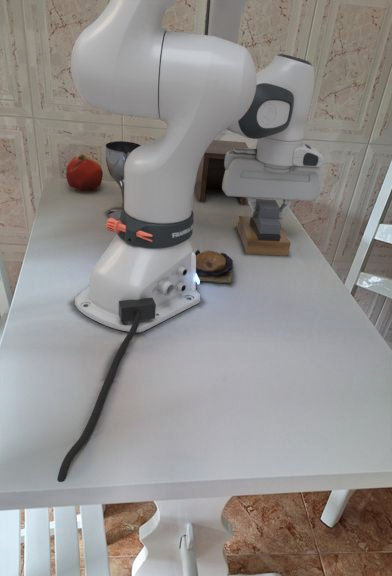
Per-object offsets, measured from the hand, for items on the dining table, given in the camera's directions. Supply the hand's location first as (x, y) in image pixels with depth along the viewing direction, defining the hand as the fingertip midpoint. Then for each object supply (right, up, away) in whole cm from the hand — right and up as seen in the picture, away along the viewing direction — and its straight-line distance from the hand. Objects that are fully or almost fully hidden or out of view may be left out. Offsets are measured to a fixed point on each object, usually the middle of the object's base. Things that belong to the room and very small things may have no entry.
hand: (265, 217), depth 105 cm
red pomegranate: (-43, +12, +19) cm, 48 cm away
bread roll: (-12, -13, -9) cm, 20 cm away
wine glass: (-32, +3, +8) cm, 33 cm away
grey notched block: (0, -3, +1) cm, 3 cm away
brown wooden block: (-1, -4, +3) cm, 6 cm away
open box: (-9, +13, +24) cm, 29 cm away
